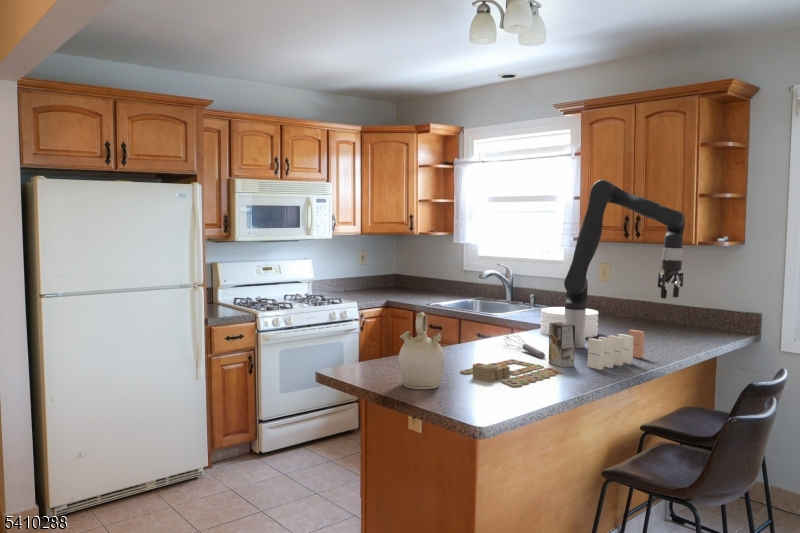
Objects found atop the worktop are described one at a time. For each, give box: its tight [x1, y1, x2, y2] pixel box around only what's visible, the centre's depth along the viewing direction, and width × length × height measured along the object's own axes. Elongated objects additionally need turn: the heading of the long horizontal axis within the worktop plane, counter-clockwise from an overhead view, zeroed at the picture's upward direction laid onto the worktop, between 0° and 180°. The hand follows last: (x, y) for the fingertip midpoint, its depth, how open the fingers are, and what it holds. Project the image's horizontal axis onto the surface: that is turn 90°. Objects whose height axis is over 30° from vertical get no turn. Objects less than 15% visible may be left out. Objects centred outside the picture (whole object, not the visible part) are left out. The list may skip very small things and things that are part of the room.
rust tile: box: [628, 329, 645, 359], centre depth 266 cm, size 2×6×11 cm, turn 34°
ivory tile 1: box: [617, 333, 634, 365], centre depth 255 cm, size 2×6×11 cm, turn 35°
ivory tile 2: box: [607, 334, 624, 367], centre depth 252 cm, size 2×6×11 cm, turn 35°
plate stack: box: [540, 306, 599, 339], centre depth 323 cm, size 28×28×12 cm
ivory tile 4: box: [587, 337, 604, 371], centre depth 245 cm, size 2×6×11 cm, turn 34°
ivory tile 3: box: [598, 336, 614, 369], centre depth 248 cm, size 2×6×11 cm, turn 34°
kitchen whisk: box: [503, 332, 547, 360], centre depth 275 cm, size 6×34×6 cm, turn 18°
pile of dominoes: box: [459, 358, 563, 389], centre depth 235 cm, size 35×27×6 cm
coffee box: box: [548, 322, 576, 368], centre depth 250 cm, size 9×6×16 cm
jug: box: [398, 311, 445, 391], centre depth 216 cm, size 15×16×25 cm
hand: (669, 297), depth 265 cm, fingers open, 8 cm apart
